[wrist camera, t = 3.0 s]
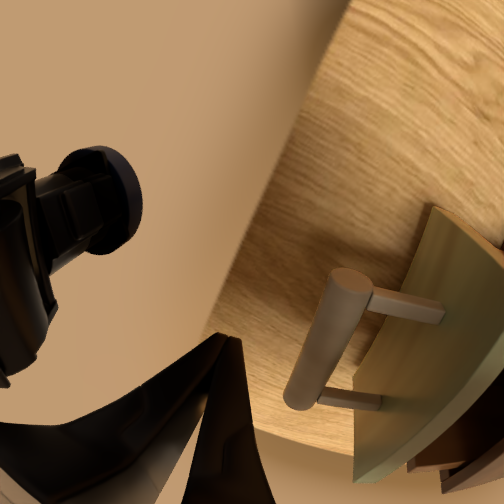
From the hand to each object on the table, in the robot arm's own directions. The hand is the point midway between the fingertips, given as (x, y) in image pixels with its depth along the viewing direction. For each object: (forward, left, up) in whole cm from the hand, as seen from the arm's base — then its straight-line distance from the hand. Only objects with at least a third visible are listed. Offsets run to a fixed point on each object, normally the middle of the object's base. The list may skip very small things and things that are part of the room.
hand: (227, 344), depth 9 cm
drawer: (+10, -4, -5) cm, 12 cm away
